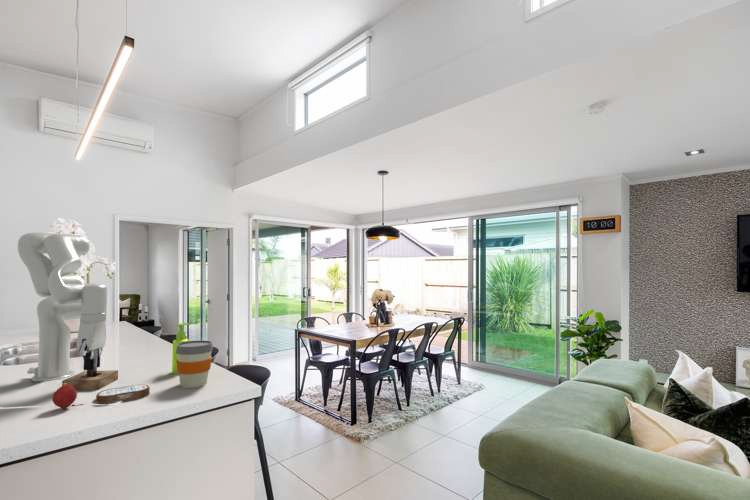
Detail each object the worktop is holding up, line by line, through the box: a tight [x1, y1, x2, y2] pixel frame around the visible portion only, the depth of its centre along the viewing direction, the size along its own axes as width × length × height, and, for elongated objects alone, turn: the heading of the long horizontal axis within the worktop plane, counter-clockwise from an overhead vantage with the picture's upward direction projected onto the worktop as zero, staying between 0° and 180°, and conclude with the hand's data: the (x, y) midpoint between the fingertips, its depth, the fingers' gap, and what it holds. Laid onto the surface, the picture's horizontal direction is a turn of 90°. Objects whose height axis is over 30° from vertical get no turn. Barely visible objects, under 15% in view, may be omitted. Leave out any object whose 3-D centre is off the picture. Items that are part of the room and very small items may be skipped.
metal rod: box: [86, 349, 98, 377], centre depth 139 cm, size 3×3×14 cm
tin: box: [95, 384, 150, 405], centre depth 126 cm, size 15×3×8 cm
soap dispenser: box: [171, 322, 191, 375], centre depth 159 cm, size 6×7×20 cm
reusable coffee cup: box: [176, 339, 214, 389], centre depth 142 cm, size 13×12×15 cm
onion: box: [51, 383, 78, 410], centre depth 117 cm, size 6×6×8 cm
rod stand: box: [61, 369, 119, 391], centre depth 138 cm, size 12×12×4 cm
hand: (91, 368), depth 138 cm, fingers closed on metal rod, 2 cm apart
